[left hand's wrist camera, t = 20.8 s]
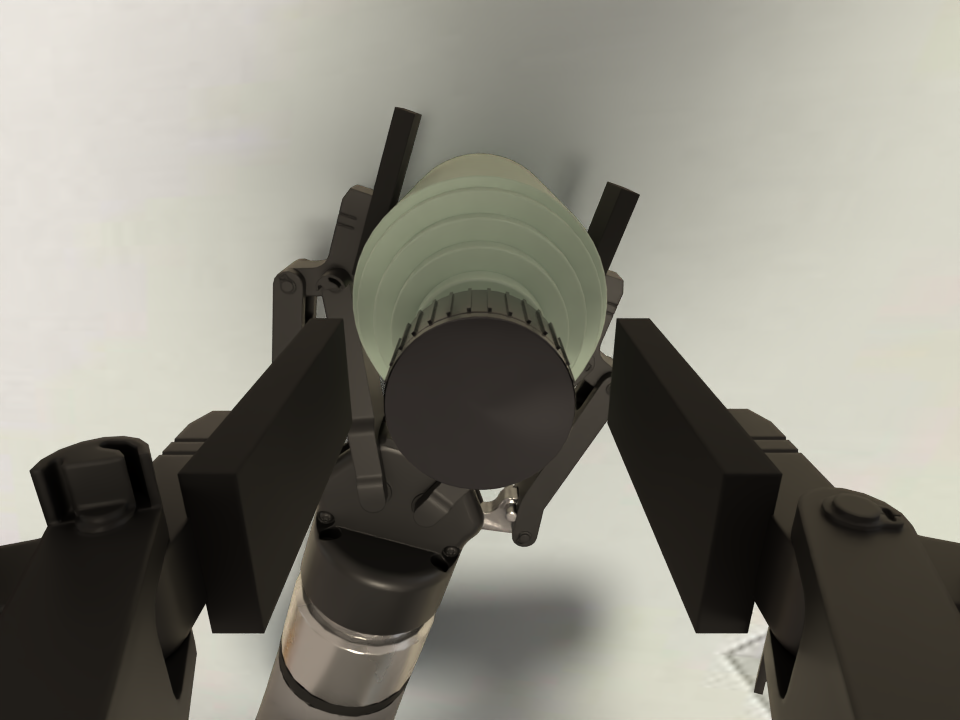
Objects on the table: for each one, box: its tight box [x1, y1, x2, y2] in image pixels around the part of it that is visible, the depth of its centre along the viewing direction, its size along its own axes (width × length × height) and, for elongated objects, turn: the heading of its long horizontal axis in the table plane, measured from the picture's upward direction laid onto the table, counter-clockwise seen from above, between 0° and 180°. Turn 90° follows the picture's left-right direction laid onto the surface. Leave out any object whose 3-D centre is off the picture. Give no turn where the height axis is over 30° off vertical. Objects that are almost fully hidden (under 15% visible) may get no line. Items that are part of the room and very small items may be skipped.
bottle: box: [353, 153, 607, 381], centre depth 22 cm, size 8×8×19 cm
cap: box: [383, 288, 576, 490], centre depth 13 cm, size 4×4×2 cm
